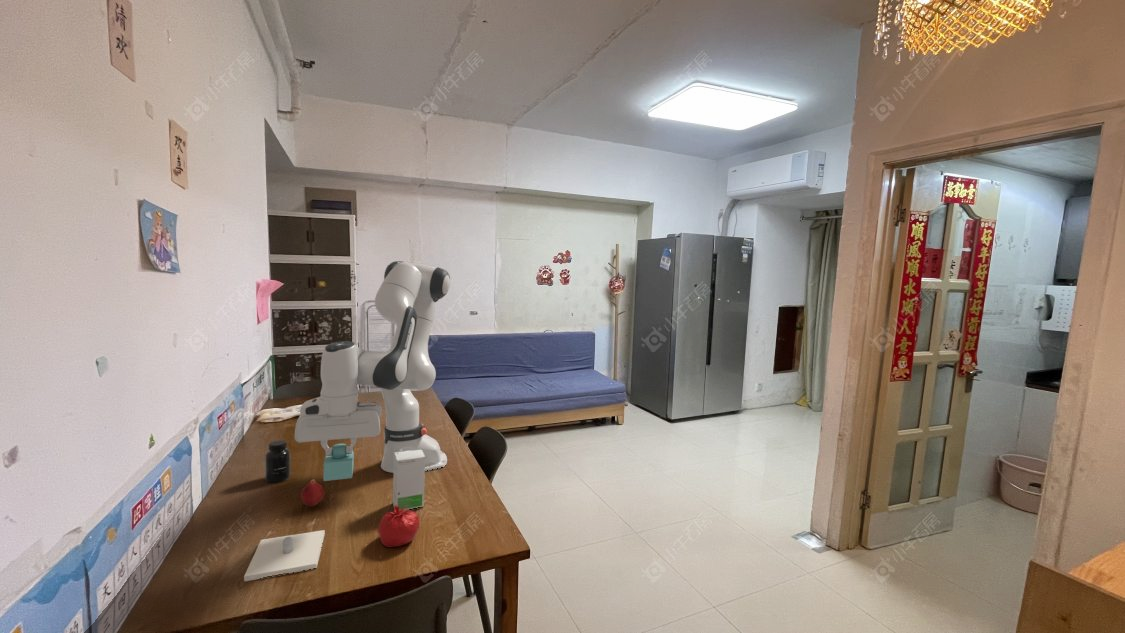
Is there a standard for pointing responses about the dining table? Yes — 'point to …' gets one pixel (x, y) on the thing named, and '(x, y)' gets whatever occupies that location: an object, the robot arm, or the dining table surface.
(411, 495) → the skincare box
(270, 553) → the post stand
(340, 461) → the teal knobbed block
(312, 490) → the onion
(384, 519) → the pomegranate
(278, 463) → the supplement bottle
